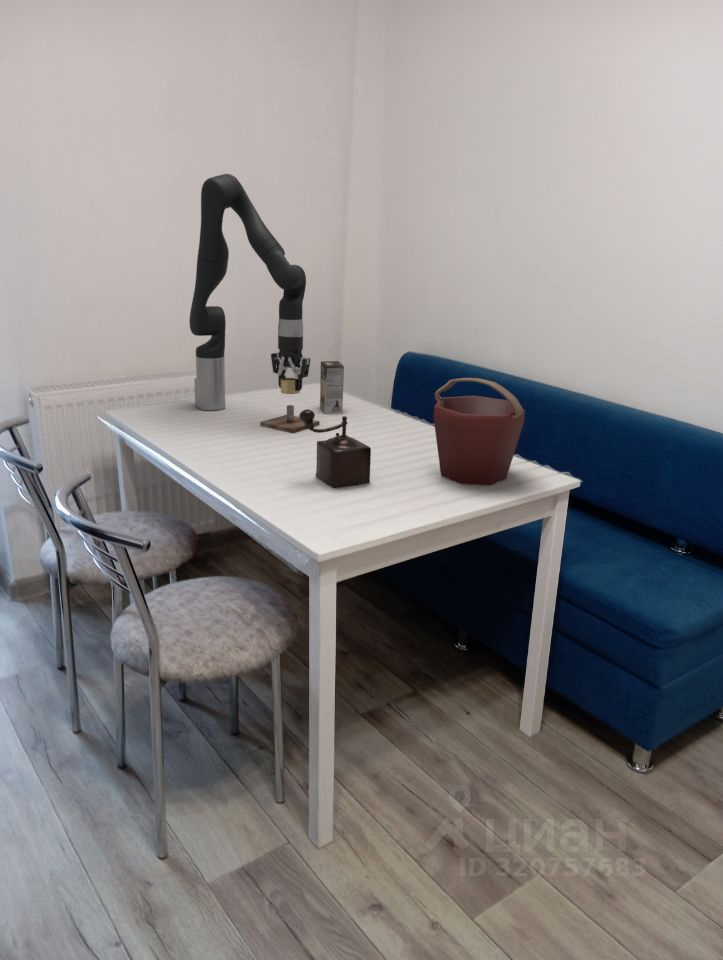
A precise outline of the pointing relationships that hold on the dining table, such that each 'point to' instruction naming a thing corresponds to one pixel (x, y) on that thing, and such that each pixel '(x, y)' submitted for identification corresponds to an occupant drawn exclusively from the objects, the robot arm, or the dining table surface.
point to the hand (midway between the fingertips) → (290, 388)
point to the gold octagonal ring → (288, 386)
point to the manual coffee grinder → (339, 456)
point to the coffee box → (331, 387)
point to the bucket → (477, 434)
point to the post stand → (287, 422)
